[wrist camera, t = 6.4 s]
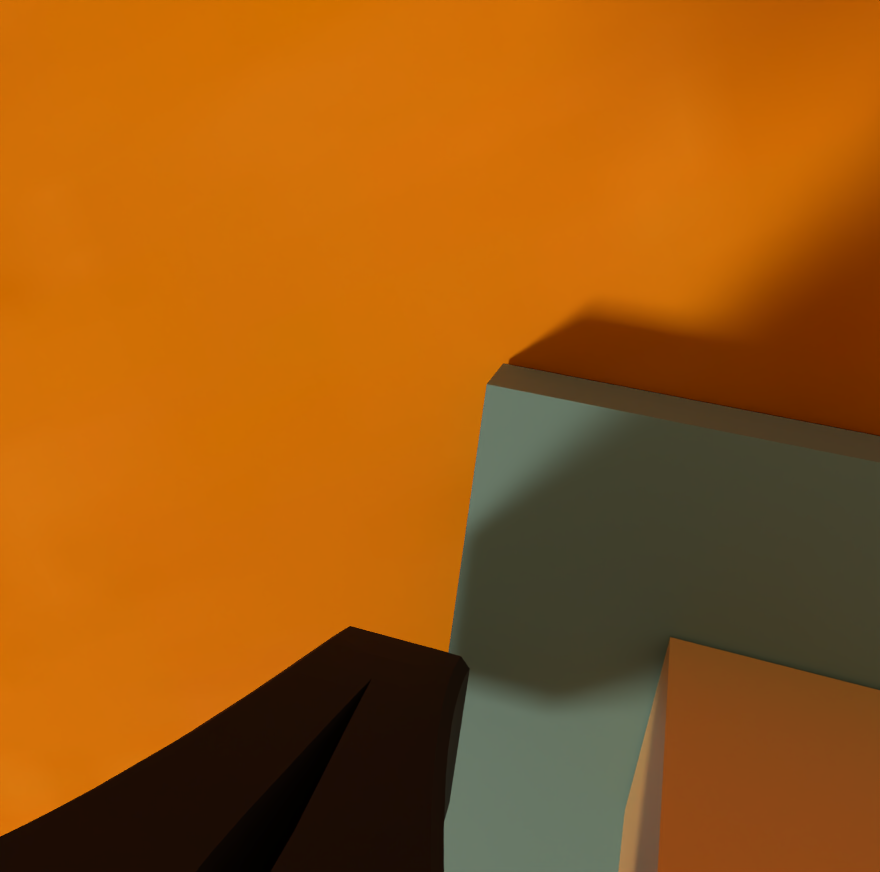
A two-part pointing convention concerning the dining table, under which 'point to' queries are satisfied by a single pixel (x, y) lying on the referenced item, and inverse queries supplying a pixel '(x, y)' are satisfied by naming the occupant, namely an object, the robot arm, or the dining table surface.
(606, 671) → the socket base
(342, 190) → the dining table surface
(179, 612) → the dining table surface
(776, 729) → the lug slider
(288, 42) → the dining table surface
